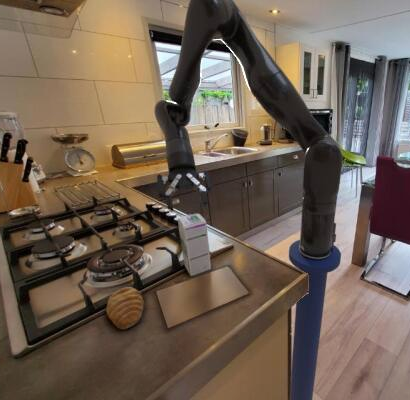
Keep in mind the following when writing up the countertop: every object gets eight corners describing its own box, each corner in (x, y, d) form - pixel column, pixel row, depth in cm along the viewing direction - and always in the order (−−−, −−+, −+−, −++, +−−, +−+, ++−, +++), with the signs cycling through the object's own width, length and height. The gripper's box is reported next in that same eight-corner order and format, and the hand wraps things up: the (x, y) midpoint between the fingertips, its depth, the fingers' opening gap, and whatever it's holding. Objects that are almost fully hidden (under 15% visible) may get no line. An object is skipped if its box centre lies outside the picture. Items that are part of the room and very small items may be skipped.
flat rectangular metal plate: (227, 266, 67) (227, 266, 67) (249, 293, 58) (249, 293, 58) (156, 292, 58) (156, 291, 58) (167, 328, 49) (167, 328, 49)
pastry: (150, 320, 51) (147, 306, 49) (111, 338, 47) (107, 323, 45) (140, 294, 57) (137, 280, 56) (106, 307, 54) (101, 293, 52)
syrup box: (211, 269, 66) (207, 220, 61) (189, 277, 63) (183, 226, 58) (204, 258, 71) (199, 211, 65) (183, 265, 68) (176, 217, 62)
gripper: (152, 151, 68) (159, 205, 62) (205, 148, 73) (216, 198, 67) (155, 166, 74) (161, 216, 69) (204, 162, 80) (213, 209, 74)
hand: (188, 207), depth 68 cm, fingers open, 8 cm apart
